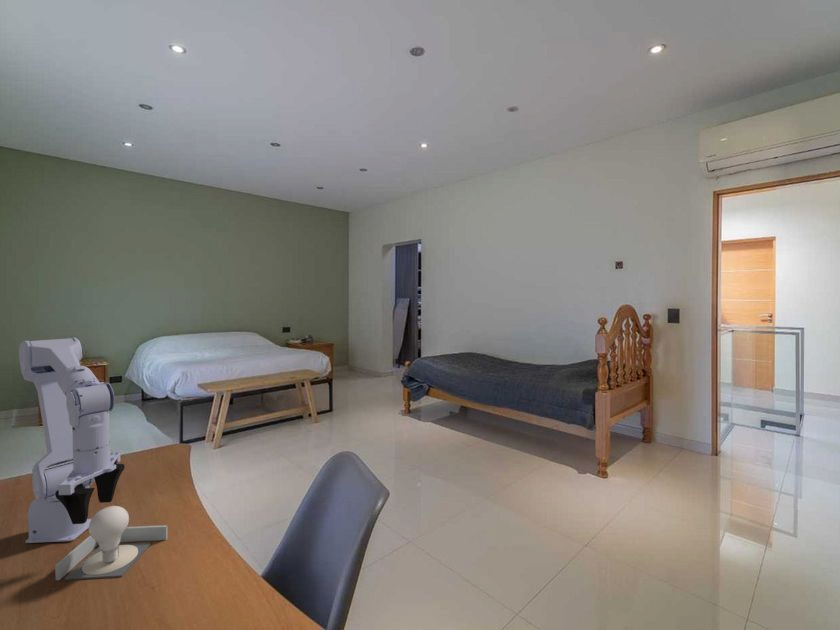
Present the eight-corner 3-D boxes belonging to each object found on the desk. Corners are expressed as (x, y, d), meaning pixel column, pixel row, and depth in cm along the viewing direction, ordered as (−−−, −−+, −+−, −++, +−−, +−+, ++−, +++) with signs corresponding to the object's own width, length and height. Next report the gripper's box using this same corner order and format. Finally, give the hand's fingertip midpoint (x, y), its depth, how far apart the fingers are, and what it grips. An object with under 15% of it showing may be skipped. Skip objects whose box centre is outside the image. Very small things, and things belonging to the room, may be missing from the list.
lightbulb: (111, 573, 76) (109, 518, 76) (81, 570, 77) (79, 515, 76) (138, 551, 83) (136, 500, 82) (110, 549, 83) (108, 498, 83)
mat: (64, 579, 75) (64, 577, 75) (101, 546, 85) (101, 544, 85) (121, 576, 76) (121, 574, 76) (151, 543, 86) (151, 542, 86)
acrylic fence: (50, 580, 75) (49, 565, 75) (94, 541, 86) (94, 528, 86) (135, 576, 76) (135, 561, 76) (167, 538, 88) (167, 525, 88)
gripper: (87, 460, 72) (89, 532, 73) (135, 432, 87) (136, 492, 87) (44, 461, 71) (47, 534, 72) (99, 432, 86) (101, 493, 86)
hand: (93, 511), depth 80 cm, fingers open, 7 cm apart
